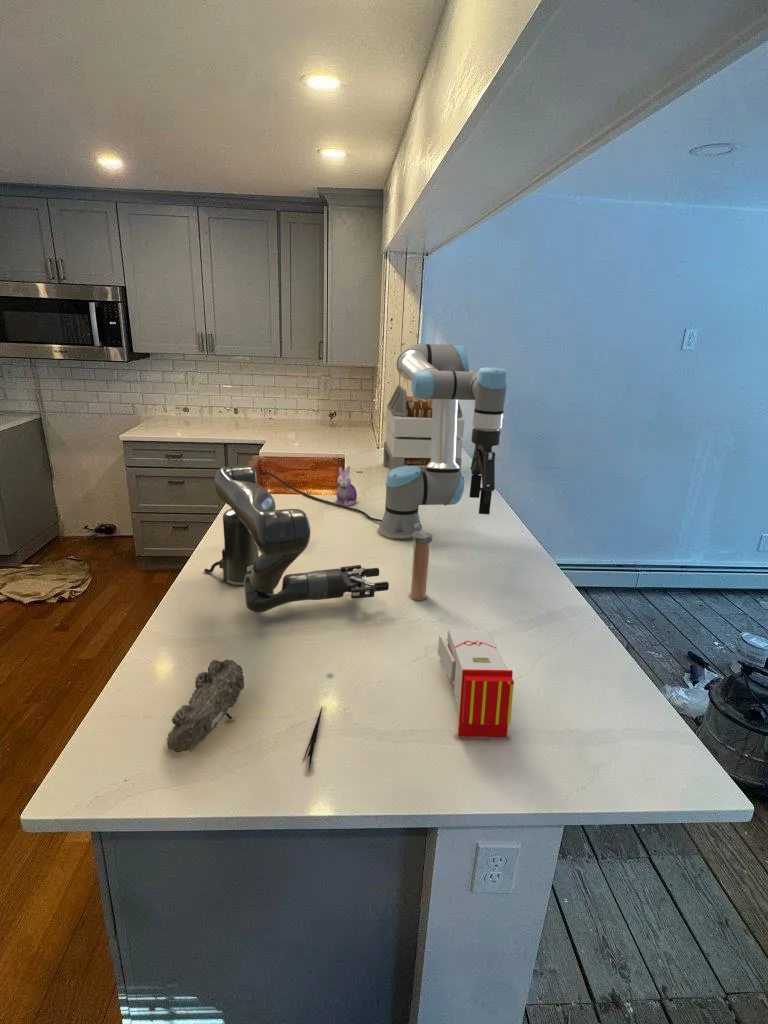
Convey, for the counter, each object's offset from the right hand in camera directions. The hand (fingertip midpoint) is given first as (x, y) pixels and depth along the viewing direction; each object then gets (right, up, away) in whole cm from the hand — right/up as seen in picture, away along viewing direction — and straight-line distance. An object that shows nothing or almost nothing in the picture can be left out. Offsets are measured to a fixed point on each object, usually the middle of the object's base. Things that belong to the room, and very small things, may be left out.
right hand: (478, 505), depth 156 cm
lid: (-16, -8, -5) cm, 18 cm away
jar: (-17, -25, +1) cm, 30 cm away
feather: (-38, -42, -47) cm, 74 cm away
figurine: (-41, +2, +73) cm, 84 cm away
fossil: (-59, -41, -48) cm, 86 cm away
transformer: (-9, +17, +119) cm, 121 cm away
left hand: (-26, -20, -4) cm, 33 cm away
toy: (-8, -39, -37) cm, 55 cm away
